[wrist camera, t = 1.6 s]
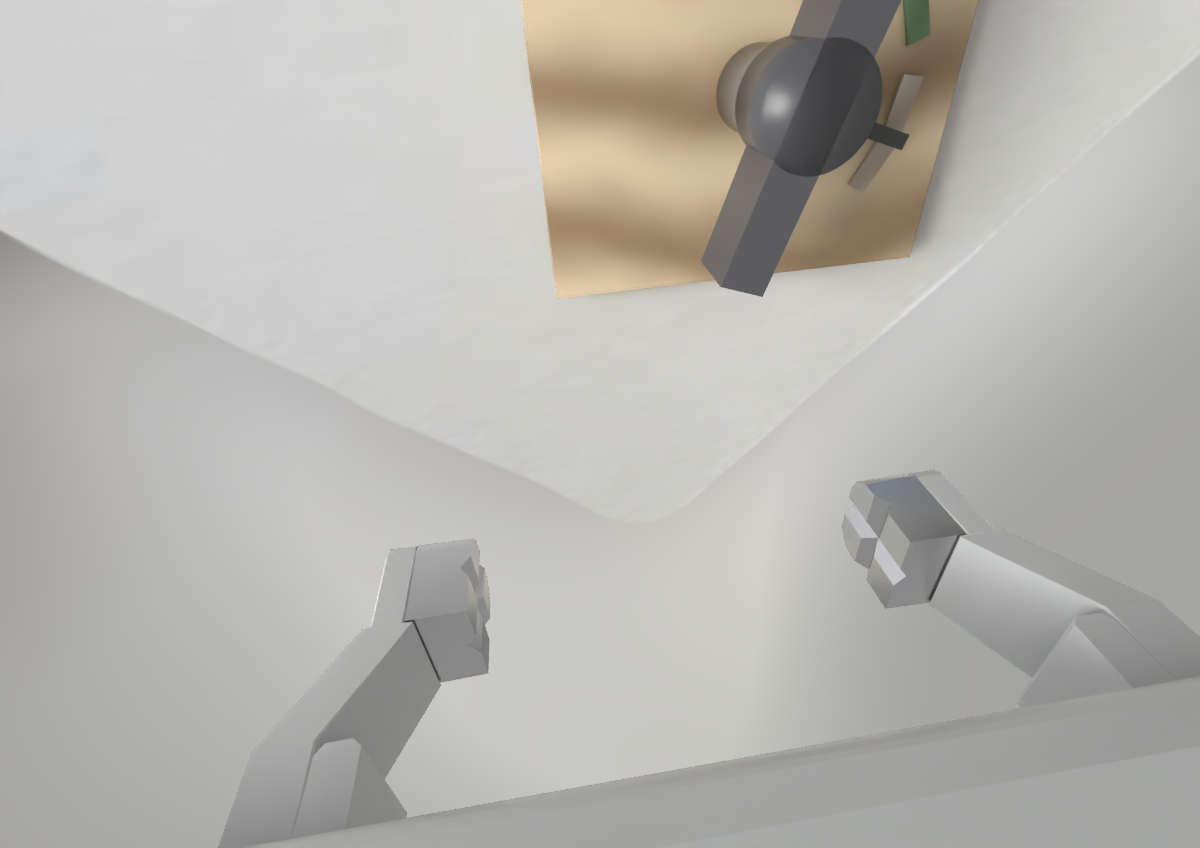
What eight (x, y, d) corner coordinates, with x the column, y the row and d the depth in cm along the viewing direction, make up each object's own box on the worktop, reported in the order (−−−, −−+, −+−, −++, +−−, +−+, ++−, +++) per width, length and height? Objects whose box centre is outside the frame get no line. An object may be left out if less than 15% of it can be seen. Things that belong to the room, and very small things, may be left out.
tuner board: (501, -167, 21) (500, -183, 20) (997, -197, 23) (1039, -214, 21) (554, 284, 32) (557, 300, 30) (890, 245, 34) (911, 258, 32)
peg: (782, -135, 21) (877, -185, 16) (985, -38, 24) (1126, -51, 19) (658, 229, 29) (694, 280, 23) (824, 272, 32) (890, 327, 26)
